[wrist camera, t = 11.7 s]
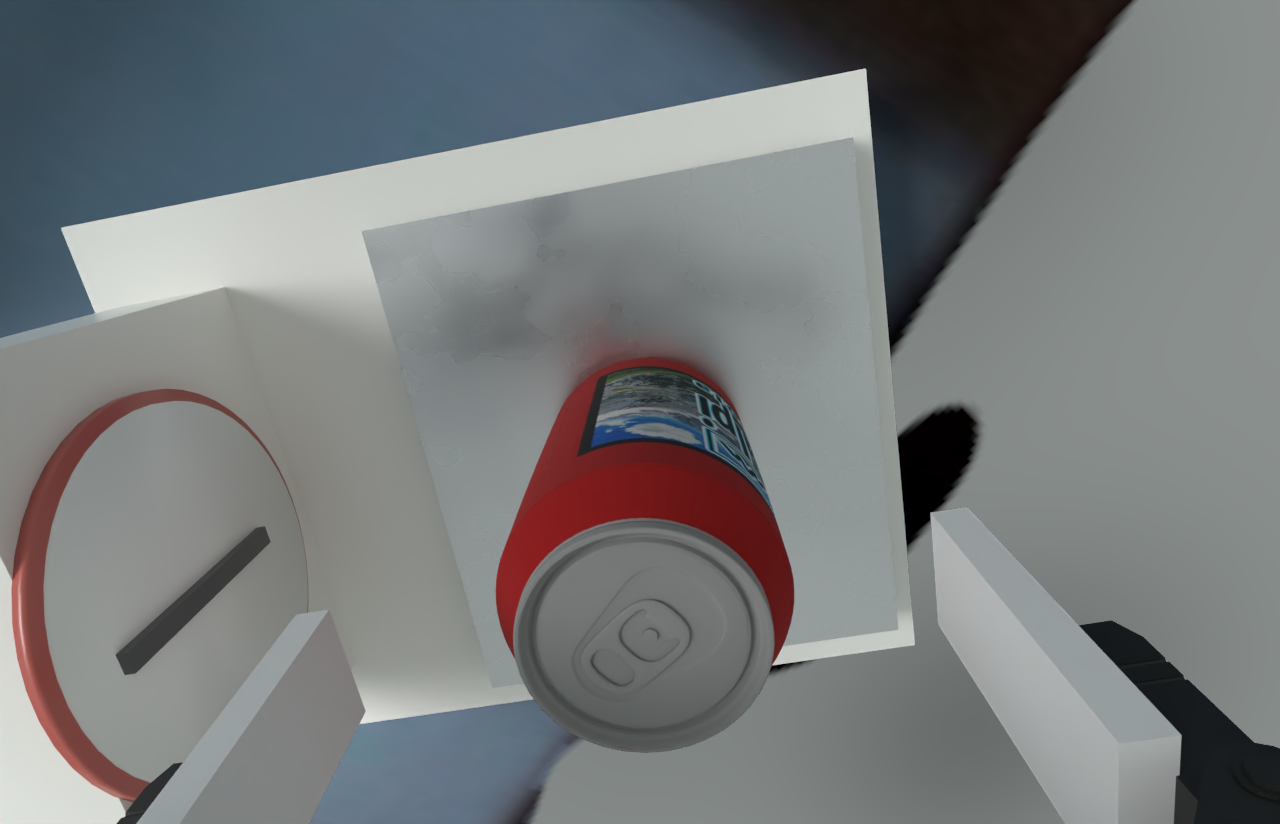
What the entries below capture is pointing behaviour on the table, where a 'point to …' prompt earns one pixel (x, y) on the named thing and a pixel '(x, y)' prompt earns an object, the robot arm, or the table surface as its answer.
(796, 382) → the weighing pan
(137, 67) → the table surface
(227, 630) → the scale
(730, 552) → the beverage can
